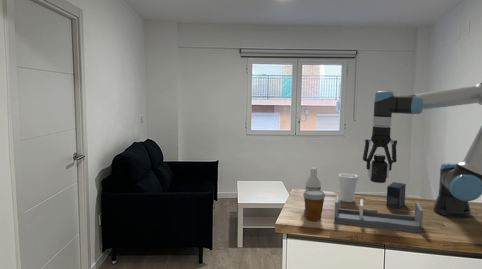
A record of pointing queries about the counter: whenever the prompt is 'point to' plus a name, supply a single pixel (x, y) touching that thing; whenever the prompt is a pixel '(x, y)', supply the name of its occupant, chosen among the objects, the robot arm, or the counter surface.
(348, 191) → the foam cup
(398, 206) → the small box
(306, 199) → the disposable coffee cup
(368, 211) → the pusher
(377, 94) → the robot arm
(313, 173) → the bath foam
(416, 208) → the tray
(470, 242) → the counter surface
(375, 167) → the supplement bottle
